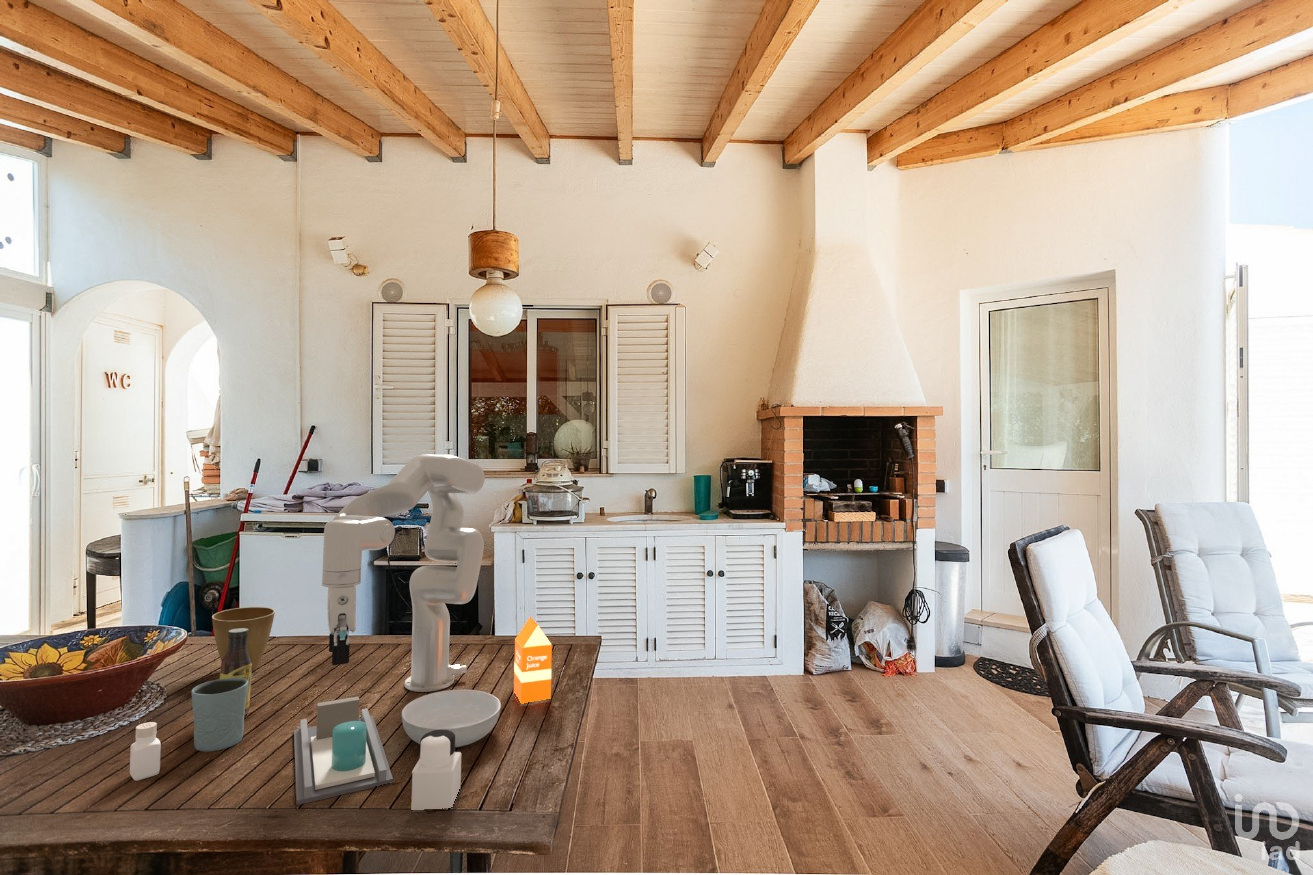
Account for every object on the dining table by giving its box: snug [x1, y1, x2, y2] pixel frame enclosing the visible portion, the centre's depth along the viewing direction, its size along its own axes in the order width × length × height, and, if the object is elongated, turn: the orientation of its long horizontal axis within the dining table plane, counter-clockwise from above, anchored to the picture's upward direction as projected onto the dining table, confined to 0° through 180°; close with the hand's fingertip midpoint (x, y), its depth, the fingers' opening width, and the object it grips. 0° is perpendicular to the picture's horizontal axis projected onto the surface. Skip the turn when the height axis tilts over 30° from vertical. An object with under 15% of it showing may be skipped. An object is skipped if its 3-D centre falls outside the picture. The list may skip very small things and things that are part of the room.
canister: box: [332, 721, 367, 771], centre depth 125 cm, size 6×6×7 cm
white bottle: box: [410, 729, 462, 811], centre depth 116 cm, size 7×7×12 cm
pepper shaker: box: [129, 721, 162, 782], centre depth 122 cm, size 4×4×10 cm
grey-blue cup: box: [191, 678, 248, 752], centre depth 137 cm, size 10×10×12 cm
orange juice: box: [513, 616, 553, 704], centre depth 164 cm, size 8×9×20 cm
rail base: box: [293, 707, 394, 806], centre depth 131 cm, size 16×32×3 cm, turn 30°
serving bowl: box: [401, 689, 502, 748], centre depth 141 cm, size 21×21×7 cm
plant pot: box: [211, 606, 276, 672], centre depth 179 cm, size 15×15×16 cm
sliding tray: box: [311, 696, 375, 790], centre depth 129 cm, size 10×22×8 cm, turn 30°
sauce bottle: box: [219, 628, 253, 716], centre depth 150 cm, size 7×6×20 cm
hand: (338, 657), depth 137 cm, fingers open, 9 cm apart
